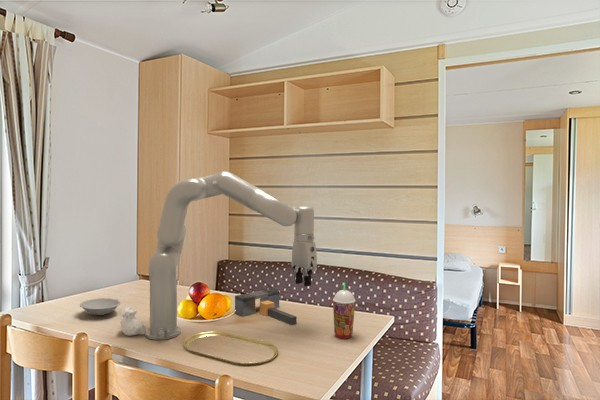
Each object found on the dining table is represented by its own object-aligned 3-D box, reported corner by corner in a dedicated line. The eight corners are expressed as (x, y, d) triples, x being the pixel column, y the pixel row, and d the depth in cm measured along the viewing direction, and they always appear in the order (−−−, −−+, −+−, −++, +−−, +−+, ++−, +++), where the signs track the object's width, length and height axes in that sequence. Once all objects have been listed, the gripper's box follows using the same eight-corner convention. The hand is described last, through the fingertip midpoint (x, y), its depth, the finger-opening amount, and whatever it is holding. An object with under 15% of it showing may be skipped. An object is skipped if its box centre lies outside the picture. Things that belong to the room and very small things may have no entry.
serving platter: (208, 332, 156) (208, 328, 155) (288, 350, 139) (288, 346, 139) (171, 349, 139) (171, 344, 139) (257, 373, 123) (257, 367, 123)
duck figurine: (121, 336, 154) (104, 318, 148) (135, 320, 159) (119, 301, 153) (141, 343, 148) (124, 324, 142) (155, 326, 153) (139, 307, 147)
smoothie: (328, 337, 151) (329, 283, 150) (337, 330, 158) (338, 279, 157) (350, 341, 147) (351, 286, 146) (357, 334, 154) (358, 281, 153)
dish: (129, 313, 174) (129, 302, 174) (97, 323, 162) (97, 311, 162) (102, 307, 183) (102, 296, 183) (71, 316, 171) (71, 304, 170)
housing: (279, 307, 187) (279, 290, 186) (242, 316, 173) (242, 298, 173) (271, 304, 191) (271, 288, 191) (234, 312, 178) (235, 295, 177)
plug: (298, 323, 166) (298, 311, 165) (289, 325, 163) (290, 313, 162) (267, 311, 180) (267, 300, 180) (259, 313, 177) (259, 302, 177)
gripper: (326, 239, 155) (325, 287, 156) (296, 235, 168) (296, 279, 168) (312, 241, 150) (311, 290, 151) (282, 236, 163) (282, 282, 163)
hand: (303, 284), depth 160 cm, fingers open, 4 cm apart
